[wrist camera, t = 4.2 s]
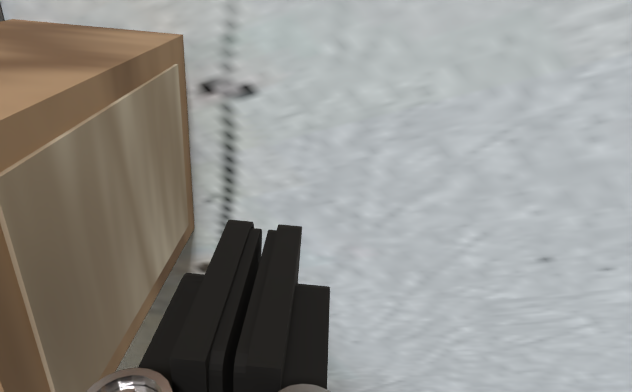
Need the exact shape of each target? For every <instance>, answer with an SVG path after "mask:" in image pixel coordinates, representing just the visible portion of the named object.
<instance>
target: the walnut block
mask: <svg viewBox="0 0 632 392" xmlns="http://www.w3.org/2000/svg"><path fill="white" fill-rule="evenodd" d="M193 230H194V214H193V197H192V180H191V164H190V147H189V130H188V113H187V97H186V80H185V63H184V46H183V35H179V34H169V33H158V32H147V31H136V30H125V29H114V28H103V27H92V26H81V25H70V24H59V23H48V22H37V21H26V20H15V19H11V20H6V21H0V392H86V391H87V390H88V389H89V388H90V387H91V386H92V385H93V384H94V383H96V382H97V381H99V380H100V379H102V378H104V377H105V376H107V375H109V374H112V373H114V372H115V371H116V369H117V367H118V366H119V364H120V362H121V360H122V358H123V357H124V355H125V353H126V351H127V349H128V348H129V346H130V344H131V342H132V340H133V339H134V337H135V335H136V333H137V331H138V330H139V328H140V326H141V324H142V322H143V320H144V319H145V317H146V315H147V313H148V311H149V310H150V308H151V306H152V304H153V302H154V301H155V299H156V297H157V295H158V293H159V292H160V290H161V288H162V286H163V284H164V282H165V281H166V279H167V277H168V275H169V273H170V272H171V270H172V268H173V266H174V264H175V263H176V261H177V259H178V257H179V255H180V254H181V252H182V250H183V248H184V246H185V245H186V243H187V241H188V239H189V237H190V235H191V234H192V232H193Z"/></svg>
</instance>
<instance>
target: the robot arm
mask: <svg viewBox="0 0 632 392" xmlns="http://www.w3.org/2000/svg"><path fill="white" fill-rule="evenodd" d="M301 234H302V227H300V226H290V225H278V228H277V231H276V230H268V233H267V237H266V241H265V244H264V248H263V252H262V256H261V247H262V230H261V229H255V228H254V224H253V222H248V221H237V220H228V222H227V224H226V226H225V229H224V231H223V234H222V236H221V238H220V241H219V243H218V245H217V248H216V250H215V252H214V255H213V257H212V259H211V262H210V264H209V266H208V269H207V271H206V274H205V275H202V274H192V273H186V274H185V275H184V276H183V278H182V280H181V282H180V284H179V286H178V288H177V290H176V292H175V294H174V296H173V298H172V300H171V302H170V304H169V306H168V308H167V310H166V312H165V314H164V316H163V318H162V320H161V322H160V324H159V326H158V328H157V330H156V332H155V334H154V336H153V338H152V341H151V343H150V345H149V347H148V349H147V351H146V353H145V355H144V357H143V359H142V361H141V363H140V365H139V367H138V368H130V369H123V370H119V371H117V372H114V373H112V374H109V375H107V376H105V377H104V378H102V379H100V380H99V381H97V382H96V383H94V384H93V385H92V386H91V387H90V388H89V389H88V390H87V391H86V392H330V391H329V390H327V365H328V333H329V300H330V287H327V286H316V285H306V284H298V271H299V259H300V246H301Z"/></svg>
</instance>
